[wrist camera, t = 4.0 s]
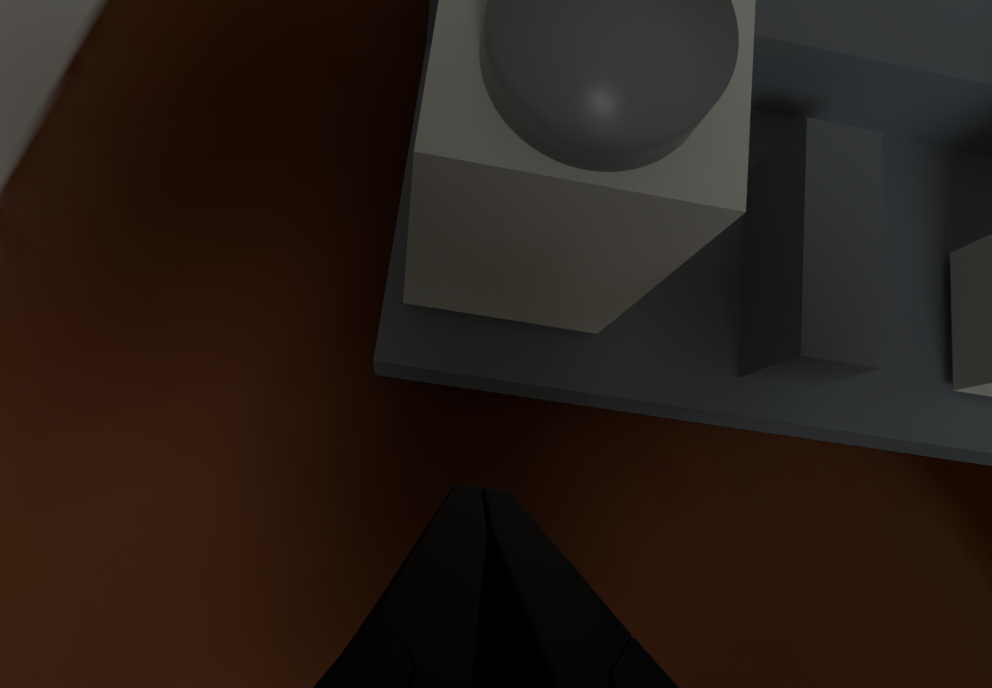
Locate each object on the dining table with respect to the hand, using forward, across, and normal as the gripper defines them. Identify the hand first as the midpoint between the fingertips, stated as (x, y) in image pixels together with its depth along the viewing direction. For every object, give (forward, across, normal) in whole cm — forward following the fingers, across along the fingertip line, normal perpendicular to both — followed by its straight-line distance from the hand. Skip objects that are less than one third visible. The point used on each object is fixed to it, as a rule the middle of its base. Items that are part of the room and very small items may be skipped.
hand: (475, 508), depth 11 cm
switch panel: (+13, +8, 0) cm, 15 cm away
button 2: (+9, +1, 0) cm, 9 cm away
